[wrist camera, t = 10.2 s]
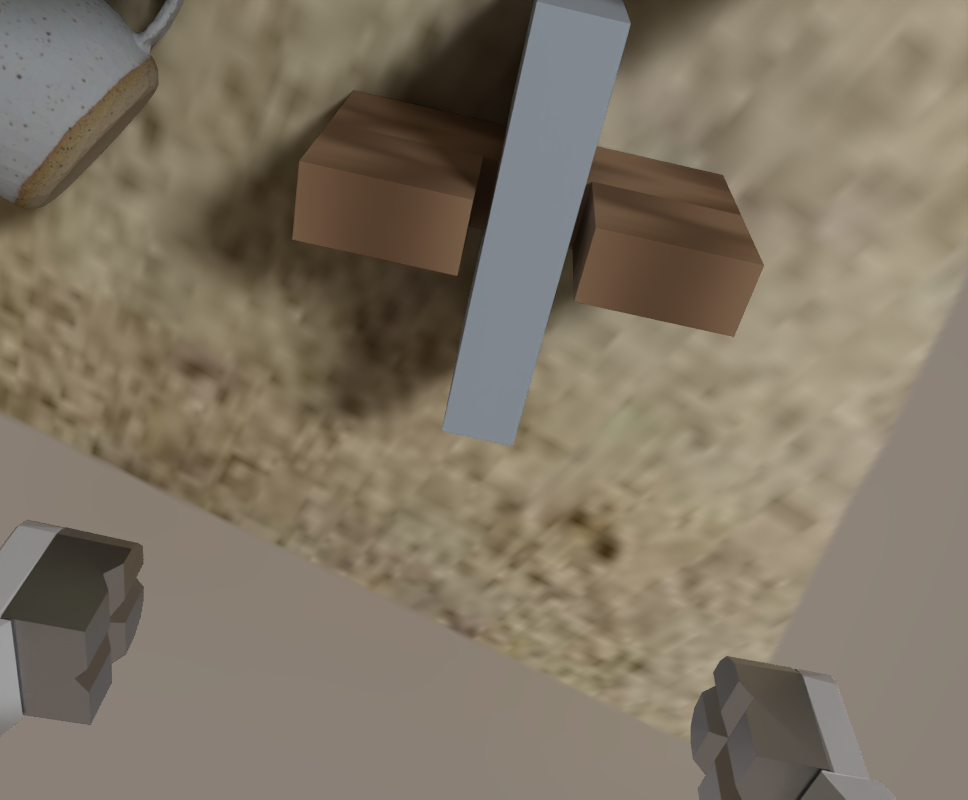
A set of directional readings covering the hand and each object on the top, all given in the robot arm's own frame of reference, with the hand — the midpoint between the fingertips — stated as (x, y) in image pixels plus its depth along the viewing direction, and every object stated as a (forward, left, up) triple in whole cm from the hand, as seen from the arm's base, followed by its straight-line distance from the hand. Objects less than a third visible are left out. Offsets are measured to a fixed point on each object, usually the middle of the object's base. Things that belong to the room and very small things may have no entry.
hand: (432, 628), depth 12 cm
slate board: (+1, -1, -24) cm, 24 cm away
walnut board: (+1, -1, -24) cm, 24 cm away
